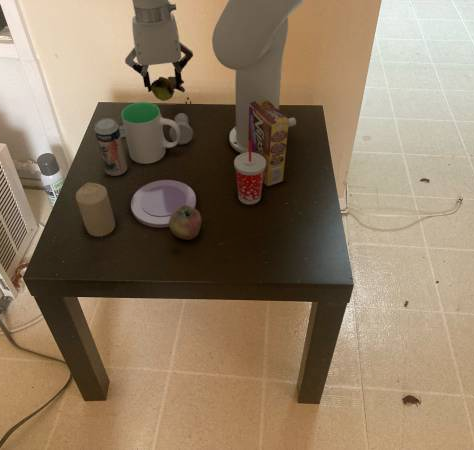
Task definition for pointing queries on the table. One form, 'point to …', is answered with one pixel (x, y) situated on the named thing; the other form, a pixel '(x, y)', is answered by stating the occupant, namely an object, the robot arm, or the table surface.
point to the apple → (185, 222)
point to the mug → (146, 132)
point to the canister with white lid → (111, 146)
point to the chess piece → (182, 129)
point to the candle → (95, 209)
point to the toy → (165, 88)
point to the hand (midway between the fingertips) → (163, 86)
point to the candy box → (268, 138)
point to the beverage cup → (249, 175)
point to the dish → (161, 202)
